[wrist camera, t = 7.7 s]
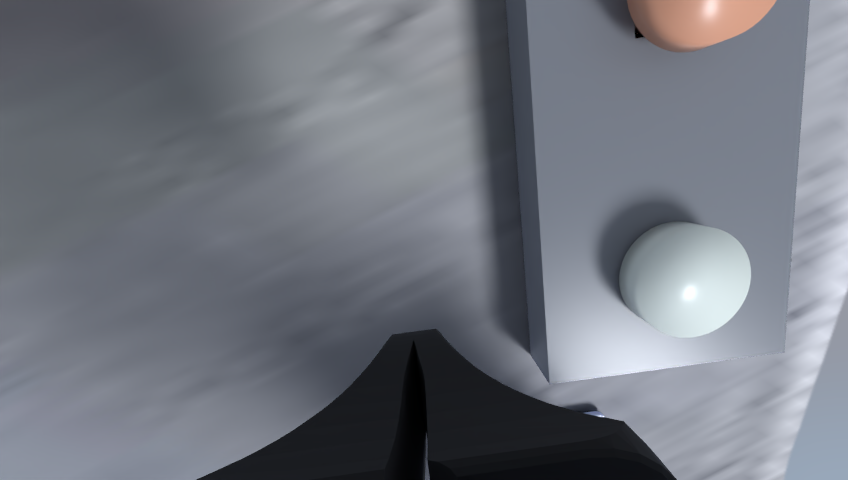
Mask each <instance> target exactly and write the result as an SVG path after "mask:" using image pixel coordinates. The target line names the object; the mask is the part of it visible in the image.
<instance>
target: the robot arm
mask: <svg viewBox="0 0 848 480" xmlns="http://www.w3.org/2000/svg"><path fill="white" fill-rule="evenodd" d="M426 433H427V438H428V467H429V474H430V480H677V479H676V478H675V477H674V476H673V475H672V473H671V472H670V471H669V470H668V469H667V468H666V466H665V465H664V464H663V463H662V462H661V460H660V459H659V458H658V457H657V456H656V455H655V453H654V452H653V451H652V450H651V449H650V448H649V447H648V446H647V444H646V443H645V442H644V441H643V440H642V439H641V438H640V437H639V436H638V435H637V434H636V433H635V432H634V431H633V430H632V429H631V428H630V427H629V426H628V425H627V424H626V423H625V422H624V421H619V420H614V419H609V418H605V417H604V415H603V414H602V413H601V412H599V411H592V412H585V413H580V412H576V411H572V410H569V409H565V408H562V407H558V406H555V405H552V404H549V403H546V402H543V401H540V400H537V399H535V398H532V397H530V396H527V395H525V394H523V393H520V392H518V391H516V390H513V389H511V388H509V387H507V386H505V385H503V384H502V383H500V382H498V381H496V380H495V379H493V378H491V377H489V376H488V375H486V374H485V373H483V372H481V371H480V370H479V369H477V368H476V367H475V366H473V365H472V364H471V363H470V362H468V361H467V360H466V359H465V358H464V357H463V356H462V355H461V354H459V353H458V352H457V351H456V350H455V349H454V348H453V347H452V346H451V345H450V344H449V343H448V342H447V340H446V339H445V338H444V337H443V336H442V334H441V333H440V332H439V331H438V330H436V329H431V330H424V331H416V332H409V333H401V334H394V335H392V336H391V337H390V338H389V340H388V341H387V342H386V343H385V345H384V346H383V348H382V349H381V350H380V352H379V353H378V354H377V356H376V357H375V358H374V360H373V361H372V362H371V363H370V365H369V366H368V367H367V368H366V369H365V370H364V372H363V373H362V374H361V375H360V376H359V377H358V378H357V379H356V380H355V381H354V382H353V384H352V385H351V386H350V387H349V388H347V389H346V390H345V391H344V392H343V393H342V394H341V395H340V396H339V397H338V398H336V399H335V400H334V401H333V402H332V403H330V404H329V405H328V406H327V407H326V408H324V409H323V410H322V411H320V412H319V413H317V414H316V415H315V416H313V417H312V418H310V419H309V420H307V421H306V422H305V423H303V424H302V425H300V426H299V427H297V428H296V429H295V430H293V431H291V432H290V433H288V434H286V435H285V436H283V437H281V438H280V439H278V440H276V441H275V442H273V443H271V444H269V445H268V446H266V447H264V448H262V449H260V450H258V451H257V452H255V453H253V454H251V455H249V456H247V457H245V458H243V459H241V460H239V461H236V462H234V463H232V464H230V465H228V466H226V467H223V468H221V469H219V470H217V471H215V472H212V473H210V474H208V475H206V476H204V477H201V478H199V479H197V480H425V454H426Z"/></svg>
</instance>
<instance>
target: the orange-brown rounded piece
mask: <svg viewBox="0 0 848 480" xmlns="http://www.w3.org/2000/svg"><path fill="white" fill-rule="evenodd" d="M775 2H776V0H627V4H628V9H629V12H630V15H631V17H632V19H633V21H634V24H635V32H636V33H639V34H642V35H643V36H644V37H645V38H646V39H647V40H649V41H650V42H651V43H652V44H654V45H656V46H657V47H660V48H662V49H664V50H668V51H672V52H680V53H682V52H692V51H697V50H700V49H703V48H706V47H709V46H711V45H714V44H716V43H719V42H722V41H724V40H727V39H730V38H732V37H735V36H737V35H739V34H741V33H743V32H745V31H747V30H748V29H750V28H751V27H753V26H754V25H755V24H756V23H758V22H759V21H760V20H761V19H762V18H763V17H764V16H765V15H766V14H767V13H768V12H769V10H770V9H771V8H772V6H773V5H774V4H775Z"/></svg>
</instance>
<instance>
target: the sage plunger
mask: <svg viewBox="0 0 848 480" xmlns="http://www.w3.org/2000/svg"><path fill="white" fill-rule="evenodd" d="M750 281H751V266H750V261H749V258H748V255H747V253H746V251H745V249H744V248H743V246H742V245H741V243H740V242H739V241H738V240H737V239H736V238H734V237H733V236H732V235H731V234H729V233H727V232H725V231H723V230H720V229H717V228H712V227H707V226H703V225H698V224H693V223H689V222H681V221H676V222H668V223H664V224H661V225H658V226H656V227H653V228H651V229H650V230H648V231H646V232H645V233H644V234H642V235H641V236H640V237H639V238H638V239H637V240H636V241H635V242H634V243H633V244H632V245H631V247H630V248H629V250H628V251H627V253H626V255H625V257H624V259H623V261H622V265H621V268H620V273H619V286H620V291H621V295H622V297H623V300H624V302H625V303H626V305H627V306H628V308H629V309H630V310H631V311H632V312H633V313H634V314H635V315H637V316H638V317H640V318H641V319H643V320H644V321H646V322H647V323H649V324H650V325H652V326H653V327H655V328H656V329H658V330H659V331H661V332H663V333H665V334H667V335H670V336H674V337H680V338H691V337H698V336H702V335H705V334H708V333H710V332H712V331H715V330H716V329H718V328H720V327H721V326H723V325H724V324H725V323H727V322H728V321H729V320H730V319H731V318H732V317H733V316H734V315H735V314H736V313H737V311H738V310H739V309H740V307H741V306H742V304H743V302H744V300H745V298H746V296H747V293H748V291H749V287H750Z"/></svg>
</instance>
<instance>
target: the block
mask: <svg viewBox="0 0 848 480" xmlns="http://www.w3.org/2000/svg"><path fill="white" fill-rule="evenodd" d="M505 1H506V15H507V29H508V43H509V57H510V71H511V85H512V99H513V114H514V128H515V142H516V156H517V170H518V184H519V198H520V212H521V226H522V240H523V254H524V268H525V282H526V296H527V310H528V324H529V338H530V352H531V356H532V358H533V359H534V361H535V362H536V364H537V366H538V367H539V369H540V370H541V372H542V373H543V375H544V376H545V378H546V379H547V381H548V383H549V384H555V383H563V382H570V381H577V380H585V379H592V378H599V377H607V376H614V375H621V374H629V373H636V372H643V371H651V370H658V369H666V368H673V367H680V366H688V365H695V364H702V363H710V362H717V361H724V360H732V359H739V358H746V357H754V356H761V355H768V354H776V353H783V352H784V350H785V336H786V323H787V309H788V295H789V281H790V267H791V254H792V240H793V226H794V212H795V199H796V185H797V171H798V157H799V143H800V130H801V116H802V102H803V88H804V75H805V61H806V47H807V33H808V19H809V6H810V0H776V2H775V4H774V5H773V6H772V8H771V9H770V10H769V12H768V13H767V14H766V15H765V16H764V17H763V18H762V19H761V20H760V21H759V22H758V23H756V24H755V25H754V26H753V27H751V28H750V29H748V30H747V31H745V32H743V33H741V34H739V35H737V36H735V37H732V38H730V39H727V40H724V41H722V42H719V43H716V44H714V45H711V46H709V47H706V48H703V49H700V50H697V51H692V52H682V53H680V52H672V51H668V50H664V49H662V48H660V47H657V46H656V45H654V44H652V43H651V42H650V41H649V40H647V39H646V38H645V37H642V38H635V24H634V21H633V19H632V17H631V15H630V12H629V9H628V4H627V0H505ZM676 221H681V222H689V223H693V224H698V225H703V226H707V227H712V228H717V229H720V230H723V231H725V232H727V233H729V234H731V235H732V236H733V237H734V238H736V239H737V240H738V241H739V242H740V243H741V245H742V246H743V248H744V249H745V251H746V253H747V255H748V258H749V261H750V266H751V281H750V287H749V291H748V293H747V296H746V298H745V300H744V302H743V304H742V306H741V307H740V309H739V310H738V311H737V313H736V314H735V315H734V316H733V317H732V318H731V319H730V320H729V321H728V322H727V323H725V324H724V325H723V326H721V327H720V328H718V329H716V330H715V331H712V332H710V333H708V334H705V335H702V336H698V337H691V338H680V337H674V336H670V335H667V334H665V333H663V332H661V331H659V330H658V329H656V328H655V327H653V326H652V325H650V324H649V323H647V322H646V321H644V320H643V319H641V318H640V317H638V316H637V315H635V314H634V313H633V312H632V311H631V310H630V309H629V308H628V306H627V305H626V303H625V302H624V300H623V297H622V295H621V291H620V286H619V273H620V268H621V265H622V261H623V259H624V257H625V255H626V253H627V251H628V250H629V248H630V247H631V245H632V244H633V243H634V242H635V241H636V240H637V239H638V238H639V237H640V236H641V235H642V234H644V233H645V232H646V231H648V230H650V229H651V228H653V227H656V226H658V225H661V224H664V223H668V222H676Z"/></svg>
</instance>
